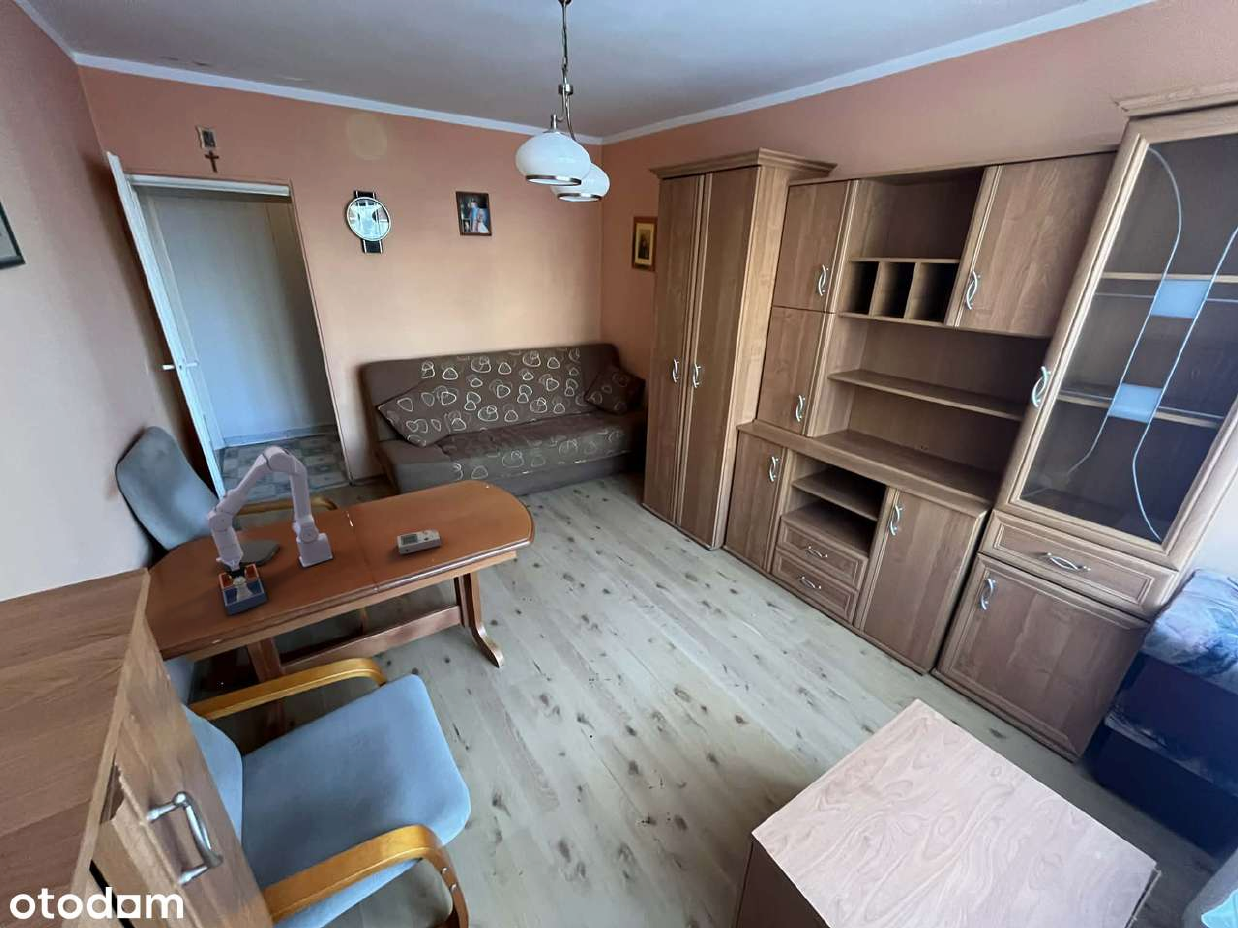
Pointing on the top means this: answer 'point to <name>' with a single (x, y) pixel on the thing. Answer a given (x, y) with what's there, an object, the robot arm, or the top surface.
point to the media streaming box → (256, 552)
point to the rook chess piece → (242, 589)
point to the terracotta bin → (251, 575)
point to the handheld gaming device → (418, 541)
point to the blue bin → (249, 602)
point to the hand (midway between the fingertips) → (239, 578)
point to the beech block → (245, 578)
